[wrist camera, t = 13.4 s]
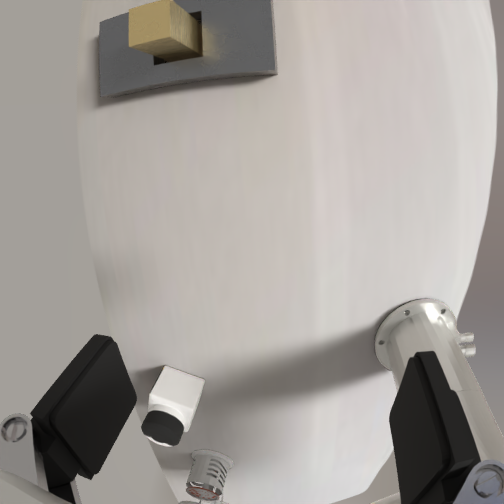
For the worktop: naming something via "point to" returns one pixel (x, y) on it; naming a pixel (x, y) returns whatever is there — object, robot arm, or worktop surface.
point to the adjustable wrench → (218, 503)
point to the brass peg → (165, 31)
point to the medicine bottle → (172, 406)
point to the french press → (207, 475)
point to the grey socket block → (196, 69)
